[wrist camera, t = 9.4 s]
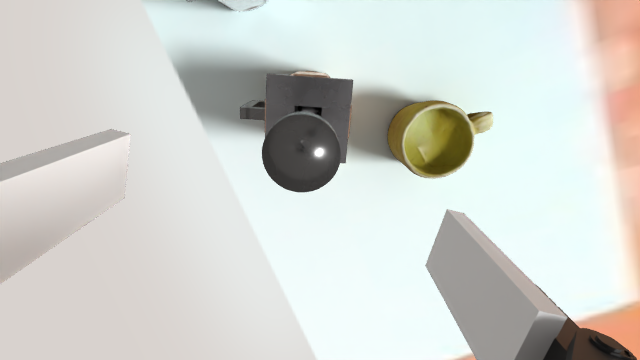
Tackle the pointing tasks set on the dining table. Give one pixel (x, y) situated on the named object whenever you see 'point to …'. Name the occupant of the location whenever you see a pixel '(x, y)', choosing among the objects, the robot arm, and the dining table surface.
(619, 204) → the dining table surface
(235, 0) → the plate
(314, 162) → the plunger copper
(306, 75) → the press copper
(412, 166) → the mug
